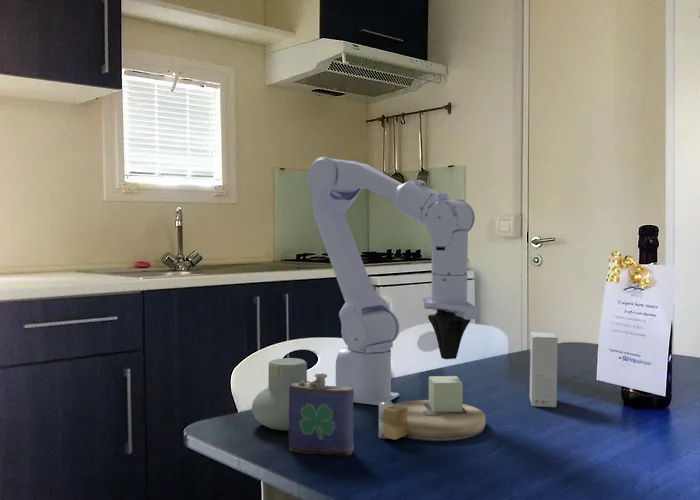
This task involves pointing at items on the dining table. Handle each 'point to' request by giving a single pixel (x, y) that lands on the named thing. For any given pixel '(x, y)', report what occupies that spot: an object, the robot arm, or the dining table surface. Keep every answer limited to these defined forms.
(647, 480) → the dining table surface
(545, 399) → the skincare box
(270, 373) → the grey bulbous piece
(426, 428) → the disc
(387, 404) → the turntable base
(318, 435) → the flask
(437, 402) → the sage block
